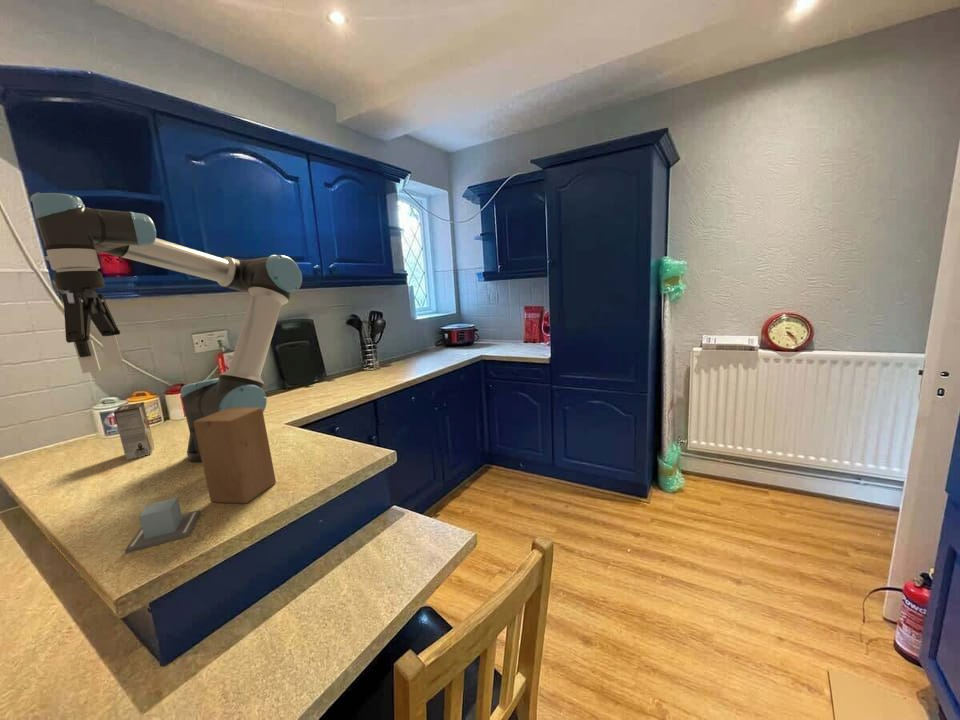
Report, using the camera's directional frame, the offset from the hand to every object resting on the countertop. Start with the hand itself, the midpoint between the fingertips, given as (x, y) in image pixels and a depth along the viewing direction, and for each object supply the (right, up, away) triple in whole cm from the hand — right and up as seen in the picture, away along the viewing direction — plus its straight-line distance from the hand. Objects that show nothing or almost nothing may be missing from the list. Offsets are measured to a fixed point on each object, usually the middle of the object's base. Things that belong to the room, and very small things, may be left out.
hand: (104, 367), depth 89 cm
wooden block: (+28, -31, +6) cm, 42 cm away
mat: (+20, -34, -8) cm, 40 cm away
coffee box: (-26, -29, +39) cm, 55 cm away
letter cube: (+20, -33, -8) cm, 40 cm away
